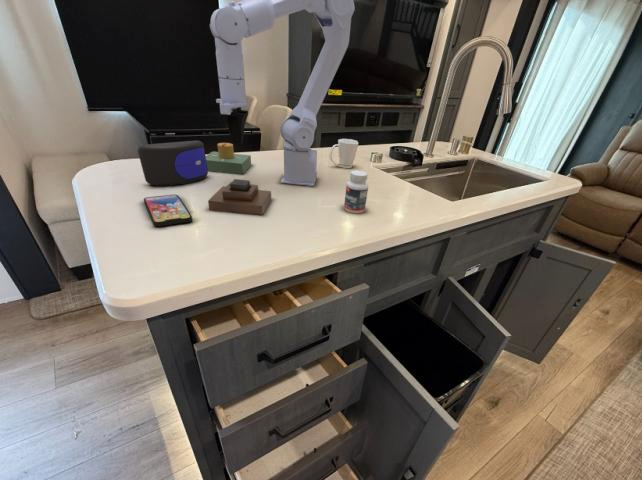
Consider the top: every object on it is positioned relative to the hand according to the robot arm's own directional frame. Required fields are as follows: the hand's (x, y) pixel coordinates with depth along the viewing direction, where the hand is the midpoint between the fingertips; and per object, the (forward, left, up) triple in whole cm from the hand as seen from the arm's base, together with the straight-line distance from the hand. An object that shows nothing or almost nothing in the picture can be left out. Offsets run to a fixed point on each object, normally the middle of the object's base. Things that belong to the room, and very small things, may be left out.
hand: (237, 143), depth 81 cm
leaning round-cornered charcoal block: (+16, +2, -11) cm, 19 cm away
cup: (-27, -28, -11) cm, 40 cm away
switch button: (-4, +14, -7) cm, 16 cm away
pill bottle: (-31, +10, -11) cm, 34 cm away
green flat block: (+8, -14, -10) cm, 19 cm away
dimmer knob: (+8, -14, -7) cm, 18 cm away
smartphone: (+10, +22, -10) cm, 26 cm away
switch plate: (-4, +14, -10) cm, 18 cm away
